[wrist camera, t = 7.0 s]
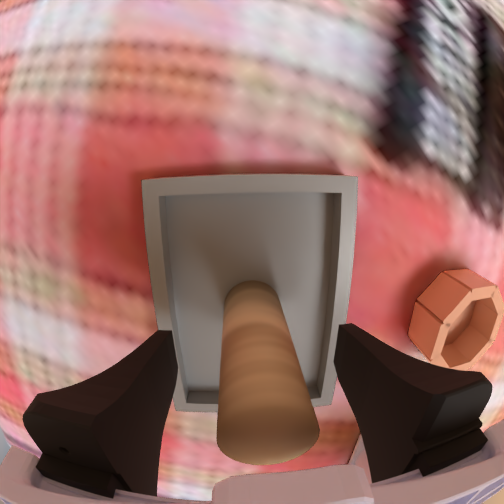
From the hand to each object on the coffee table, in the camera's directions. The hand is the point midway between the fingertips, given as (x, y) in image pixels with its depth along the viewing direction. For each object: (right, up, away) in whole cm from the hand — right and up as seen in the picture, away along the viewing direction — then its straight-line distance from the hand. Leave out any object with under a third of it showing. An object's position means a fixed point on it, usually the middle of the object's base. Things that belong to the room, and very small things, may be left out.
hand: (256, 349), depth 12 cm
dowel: (0, +1, +4) cm, 4 cm away
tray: (0, +1, +4) cm, 4 cm away
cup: (+14, 0, +5) cm, 15 cm away
